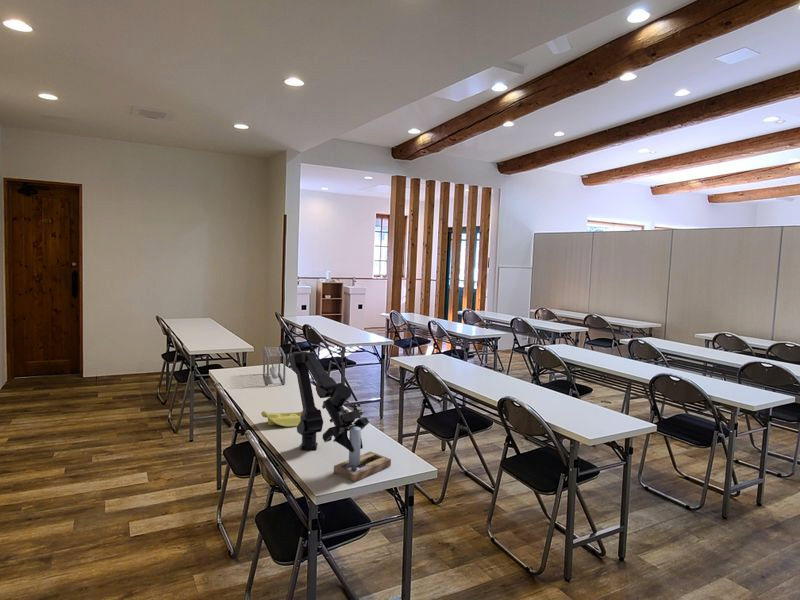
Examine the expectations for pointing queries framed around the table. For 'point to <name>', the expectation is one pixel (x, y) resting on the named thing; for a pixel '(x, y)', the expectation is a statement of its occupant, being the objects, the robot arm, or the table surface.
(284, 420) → the banana
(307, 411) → the robot arm
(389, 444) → the table surface
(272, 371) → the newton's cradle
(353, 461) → the slate peg
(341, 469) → the keyhole block
